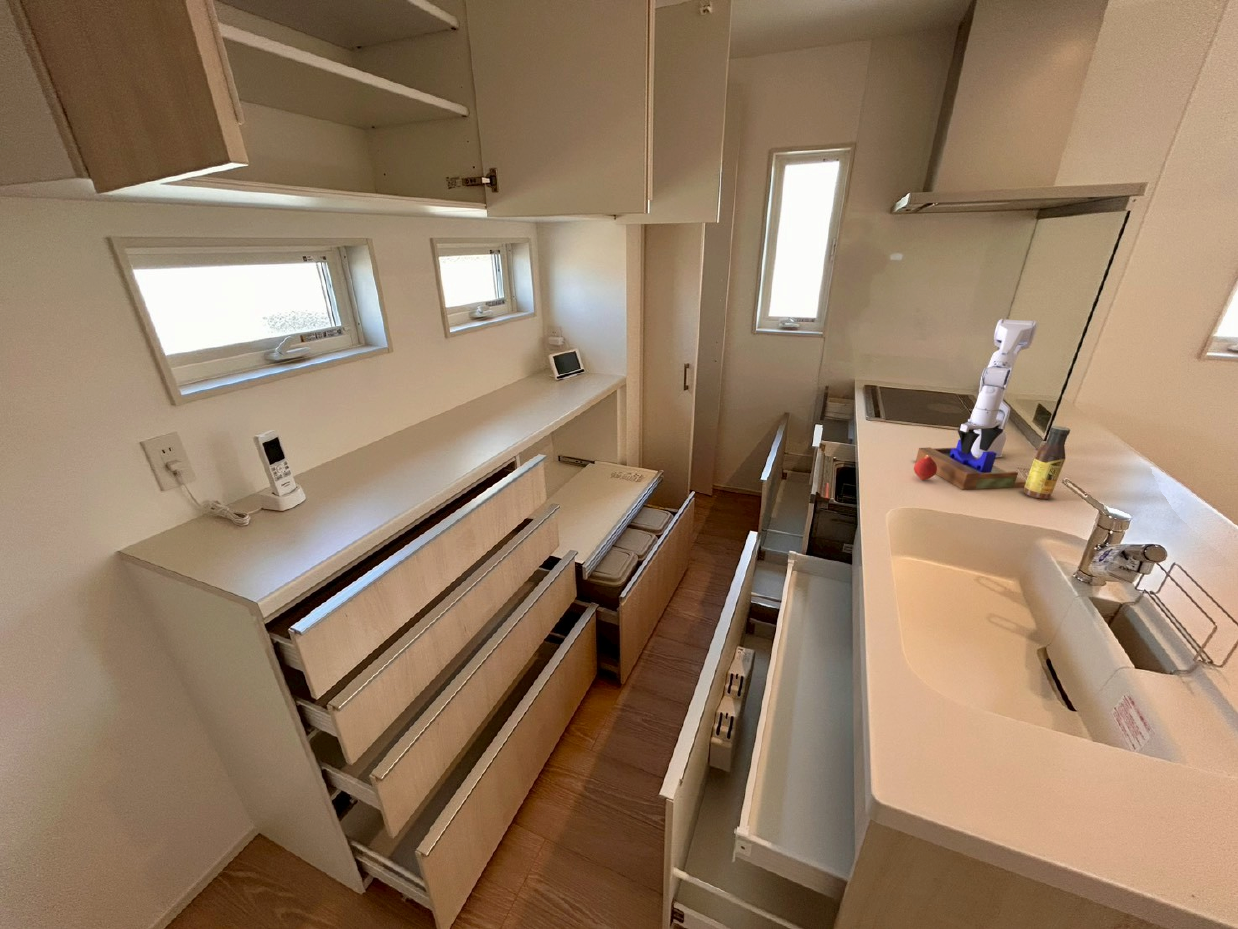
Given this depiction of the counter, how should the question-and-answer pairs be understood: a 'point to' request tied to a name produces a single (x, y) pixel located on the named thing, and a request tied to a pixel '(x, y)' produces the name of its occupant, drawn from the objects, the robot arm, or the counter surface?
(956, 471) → the wooden serving tray
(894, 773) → the counter surface
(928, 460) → the onion
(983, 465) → the cable clip
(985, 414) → the robot arm
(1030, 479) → the sauce bottle
